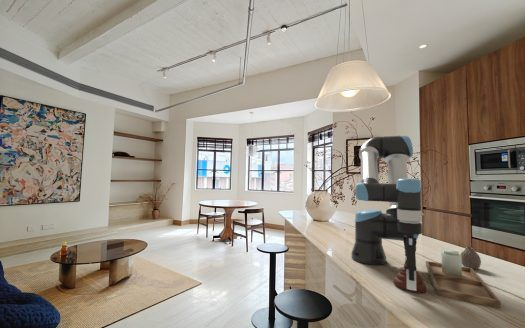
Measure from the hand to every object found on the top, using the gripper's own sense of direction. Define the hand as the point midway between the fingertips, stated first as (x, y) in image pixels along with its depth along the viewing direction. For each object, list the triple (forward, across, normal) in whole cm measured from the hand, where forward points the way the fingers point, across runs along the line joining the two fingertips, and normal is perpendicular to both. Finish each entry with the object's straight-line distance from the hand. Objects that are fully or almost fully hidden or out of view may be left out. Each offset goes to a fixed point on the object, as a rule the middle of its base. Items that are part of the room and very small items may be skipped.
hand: (410, 282), depth 84 cm
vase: (+2, +37, -24) cm, 44 cm away
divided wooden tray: (+2, +14, -15) cm, 21 cm away
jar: (+1, +22, -15) cm, 26 cm away
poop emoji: (+2, 0, 0) cm, 2 cm away
